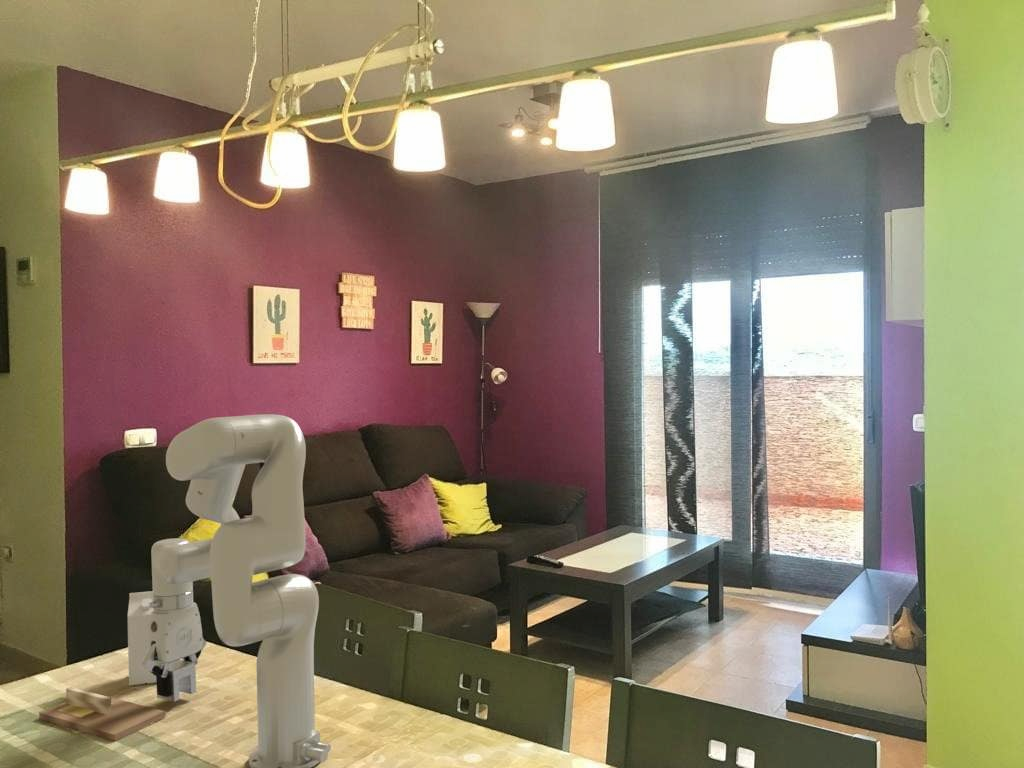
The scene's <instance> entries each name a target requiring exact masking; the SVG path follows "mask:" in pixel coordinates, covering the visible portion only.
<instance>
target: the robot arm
mask: <svg viewBox="0 0 1024 768" xmlns="http://www.w3.org/2000/svg"><path fill="white" fill-rule="evenodd" d="M306 446H307V445H306V440H305V437H304V433H303V431H302V429H301V427H300V426H299V424H298V423H297V422H296V421H295V420H294V419H293V418H292V417H289V416H286V415H282V414H276V413H273V414H269V413H266V414H265V413H263V414H247V415H246V414H245V415H236V416H234V415H233V416H221V417H220V416H219V417H211V418H207V419H204V420H201V421H199V422H197V423H196V424H193V425H191V426H190V427H188V428H186V429H184V430H182V431H181V432H179V433H178V434H176V435H175V436H174V437H173V438H172V440H171V442H170V443H169V446H168V447H167V450H166V454H165V465H166V466H165V467H166V469H167V472H168V473H169V475H170V477H171V478H173V479H174V480H177V481H183V482H184V481H190V483H189V486H188V489H187V493H186V496H185V505H186V507H187V508H188V510H189V511H190V512H191V513H192V514H193V515H195V516H197V517H199V518H202V519H204V520H206V521H211V522H215V523H218V524H220V526H219V527H218V528H217V529H216V530H215V533H214V534H213V537H212V538H208V539H202V540H201V539H200V540H198V541H192V542H190V540H189V539H187V538H182V537H181V538H180V537H179V538H178V537H177V538H175V537H174V538H166V539H162V540H158V541H156V542H154V543H153V545H152V546H151V555H150V556H151V576H152V577H151V578H152V579H151V580H152V582H151V583H152V591H153V601H152V602H150V604H149V606H150V608H153V611H152V612H151V617H150V623H149V635H148V651H149V652H148V653H147V655H146V657H145V659H144V661H143V663H142V667H144V668H145V669H147V670H149V671H150V672H151V673H152V674H153V675H154V676H156V682H157V684H156V695H157V694H158V695H160V696H164V697H169V696H170V695H171V691H170V676H167V674H168V670H169V665H170V663H171V662H174V661H177V660H183V661H189V662H194V663H195V666H196V665H198V659H199V658H200V656H201V654H202V651H203V650H204V649H205V647H206V645H207V641H206V640H205V639H204V637H203V629H202V622H201V621H202V620H201V616H200V615H201V614H200V610H199V607H198V604H197V603H196V602H194V589H193V586H194V582H196V581H200V580H205V579H210V581H211V596H212V597H211V598H212V611H213V612H212V613H213V614H212V615H213V620H214V621H213V622H214V627H215V630H216V632H217V636H218V637H219V639H220V640H221V642H222V643H223V644H225V645H227V646H230V647H242V646H246V645H251V644H255V643H257V642H261V641H262V642H261V643H260V646H259V649H258V652H257V655H256V656H257V657H256V664H255V665H256V704H257V705H256V706H257V708H256V709H257V712H256V713H257V716H256V717H257V746H256V747H255V748H254V749H252V750H251V752H250V753H249V756H248V765H249V766H248V767H250V768H313V767H315V766H316V765H318V764H319V763H322V764H323V763H324V762H326V761H327V759H328V755H329V753H330V751H331V749H332V746H331V745H332V744H330V743H326V742H322V741H321V736H320V735H321V733H320V732H321V731H319V730H316V723H315V722H316V719H315V717H316V716H315V713H316V712H315V664H314V663H315V659H314V658H315V656H314V655H315V653H314V650H315V647H314V645H315V632H316V623H317V619H318V614H319V606H320V600H319V599H320V597H319V592H318V589H317V587H316V585H315V582H313V581H312V580H311V579H310V578H308V577H307V576H305V575H303V574H299V573H290V574H289V573H287V574H283V575H277V576H274V577H269V578H264V579H261V580H258V581H254V582H253V577H254V576H257V575H259V574H264V573H269V572H273V571H277V570H282V569H285V568H289V567H292V566H294V565H296V564H298V563H299V562H301V561H302V559H304V556H305V553H306V545H307V543H306V521H305V520H306V519H305V506H304V504H305V503H304V491H303V482H304V481H303V480H304V471H305V466H306V455H307V454H306V453H307V447H306ZM259 463H264V464H263V465H262V467H261V469H260V470H259V472H258V474H257V475H256V477H255V479H254V482H253V485H252V488H251V503H252V504H251V505H252V510H251V511H252V513H251V515H250V517H246V518H240V516H239V514H238V513H237V511H236V510H235V508H234V507H233V505H234V501H235V497H236V496H237V495H236V494H237V492H238V489H239V486H240V482H241V479H242V476H243V473H244V471H245V467H246V465H250V464H259ZM153 661H156V662H155V664H153ZM162 664H163V667H162V669H161V665H162Z"/></svg>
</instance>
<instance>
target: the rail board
mask: <svg viewBox="0 0 1024 768" xmlns="http://www.w3.org/2000/svg"><path fill="white" fill-rule="evenodd" d="M65 692H66V694H65V695H66V697H65V698H66V700H65V702H62V703H60V704H57V705H55V706H52V707H50V708H46V709H44V710H42V711H40V712H38V716H39V717H38V718H39V720H42V721H47V722H49V723H53V724H57V725H59V726H62V727H66V728H69V727H70V729H72V728H73V730H76V729H77V730H76V731H79V730H81V731H80V732H82V733H86V732H87V734H89V733H90V735H93V736H96V735H97V737H99V736H101V737H100V738H103V737H104V738H103V739H106V738H108V739H107V740H110V739H111V741H113V740H114V742H116V740H117V741H118V739H119V740H121V739H123V738H125V737H127V735H128V736H129V734H130V735H132V734H134V733H136V732H138V731H140V730H142V729H144V728H143V727H145V726H147V725H149V724H151V723H153V722H155V721H157V720H159V719H162V718H164V717H166V716H167V713H166V712H167V711H166V710H161V709H157V708H154V707H151V706H147V705H142V704H138V703H134V702H132V701H126V700H123V699H120V698H116V697H112V696H109V695H108V696H107V695H104V694H100V693H97V692H92V691H88V690H83V689H80V688H76V687H73V686H70V687H67V688H66V689H65ZM164 719H165V718H164ZM162 720H163V719H162ZM159 721H160V720H159ZM157 722H158V721H157ZM155 723H156V722H155ZM153 724H154V723H153ZM151 725H152V724H151ZM149 726H150V725H149ZM147 727H148V726H147ZM141 728H142V729H141ZM145 728H146V727H145ZM137 730H138V731H137ZM133 732H134V733H133ZM131 733H132V734H131ZM122 737H123V738H122Z"/></svg>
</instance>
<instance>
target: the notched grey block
mask: <svg viewBox="0 0 1024 768" xmlns="http://www.w3.org/2000/svg"><path fill="white" fill-rule="evenodd" d="M162 667H163V666H161V669H162ZM167 676H170V691H171V695H170V696H169V697H164V696H160V695H158V694H157V693H156V698H157V699H161V700H165V701H170V702H175V703H176V701H179V700H180V693H184V694H189V695H192V694H195V693H197V678H196V677H197V676H196V665H195V663H194V662H189V661H183V659H179V660H177V661H174V662H171V663H170V665H169V670H168V674H167ZM155 684H156V685H157V682H156V683H155Z"/></svg>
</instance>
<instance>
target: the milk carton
mask: <svg viewBox="0 0 1024 768" xmlns="http://www.w3.org/2000/svg"><path fill="white" fill-rule="evenodd" d="M128 595H129V597H128V598H129V600H128V608H127V609H128V610H127V652H128V653H127V654H128V658H127V659H128V684H129V686H139V685H146V684H145V683H147V684H154V683H155V684H156V676H154V675H153V674H152V673H151V672H150V671H149V670H147V669H145V668H144V667H142V663H143V661H144V659H145V657H146V655H147V653H148V652H149V651H148V635H149V623H150V617H151V612H152V611H153V608H150V606H149V604H150V602H152V601H153V590H152V591H140V592H130V593H129V594H128ZM155 662H156V661H153V664H155ZM161 666H163V664H162V665H161Z"/></svg>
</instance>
